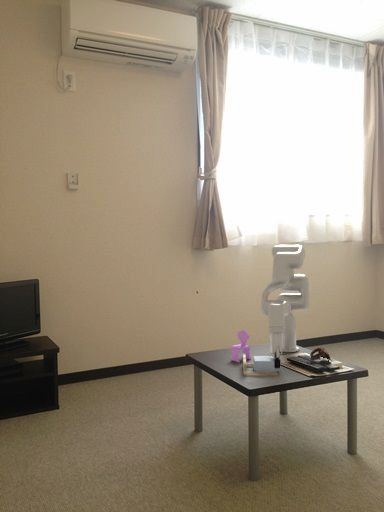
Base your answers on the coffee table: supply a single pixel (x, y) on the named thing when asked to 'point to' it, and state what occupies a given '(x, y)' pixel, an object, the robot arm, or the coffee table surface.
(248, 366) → the wooden rack
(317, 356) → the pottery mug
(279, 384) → the coffee table surface
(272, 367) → the carton
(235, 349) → the toy chair
